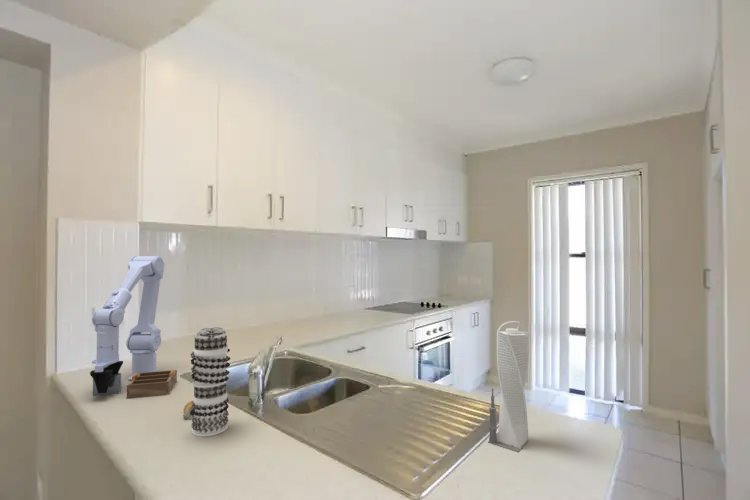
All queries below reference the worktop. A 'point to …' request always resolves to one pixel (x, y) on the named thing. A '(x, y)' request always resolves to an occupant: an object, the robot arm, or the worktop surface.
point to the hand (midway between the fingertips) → (107, 388)
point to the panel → (110, 386)
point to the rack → (151, 384)
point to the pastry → (188, 410)
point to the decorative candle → (210, 382)
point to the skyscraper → (511, 390)
